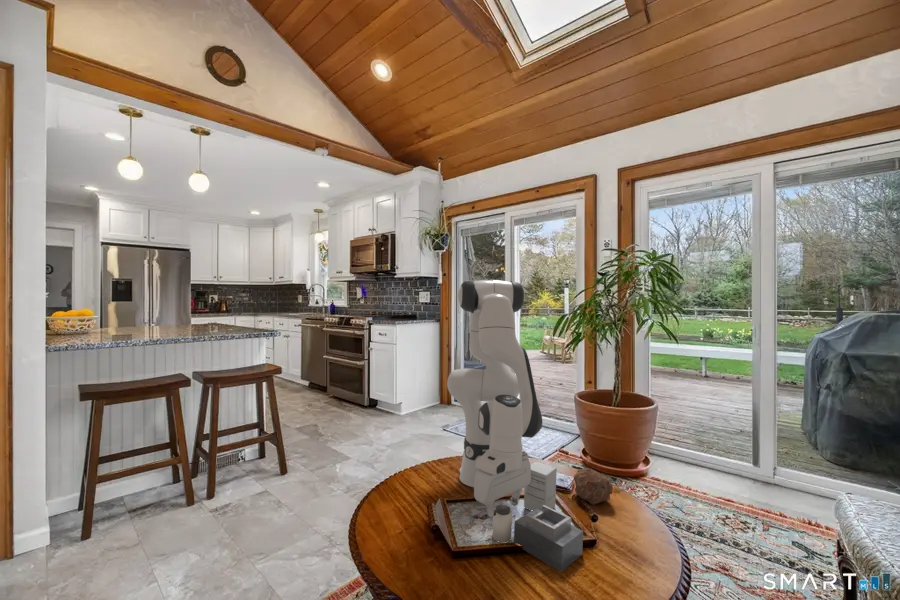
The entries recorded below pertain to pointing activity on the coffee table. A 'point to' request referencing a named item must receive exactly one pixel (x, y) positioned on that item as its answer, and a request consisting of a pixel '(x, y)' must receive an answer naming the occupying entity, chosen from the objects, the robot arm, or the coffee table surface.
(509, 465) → the robot arm
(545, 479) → the supplement box
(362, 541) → the coffee table surface
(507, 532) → the cream cylinder
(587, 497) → the decorative rock
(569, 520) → the grey socket block
